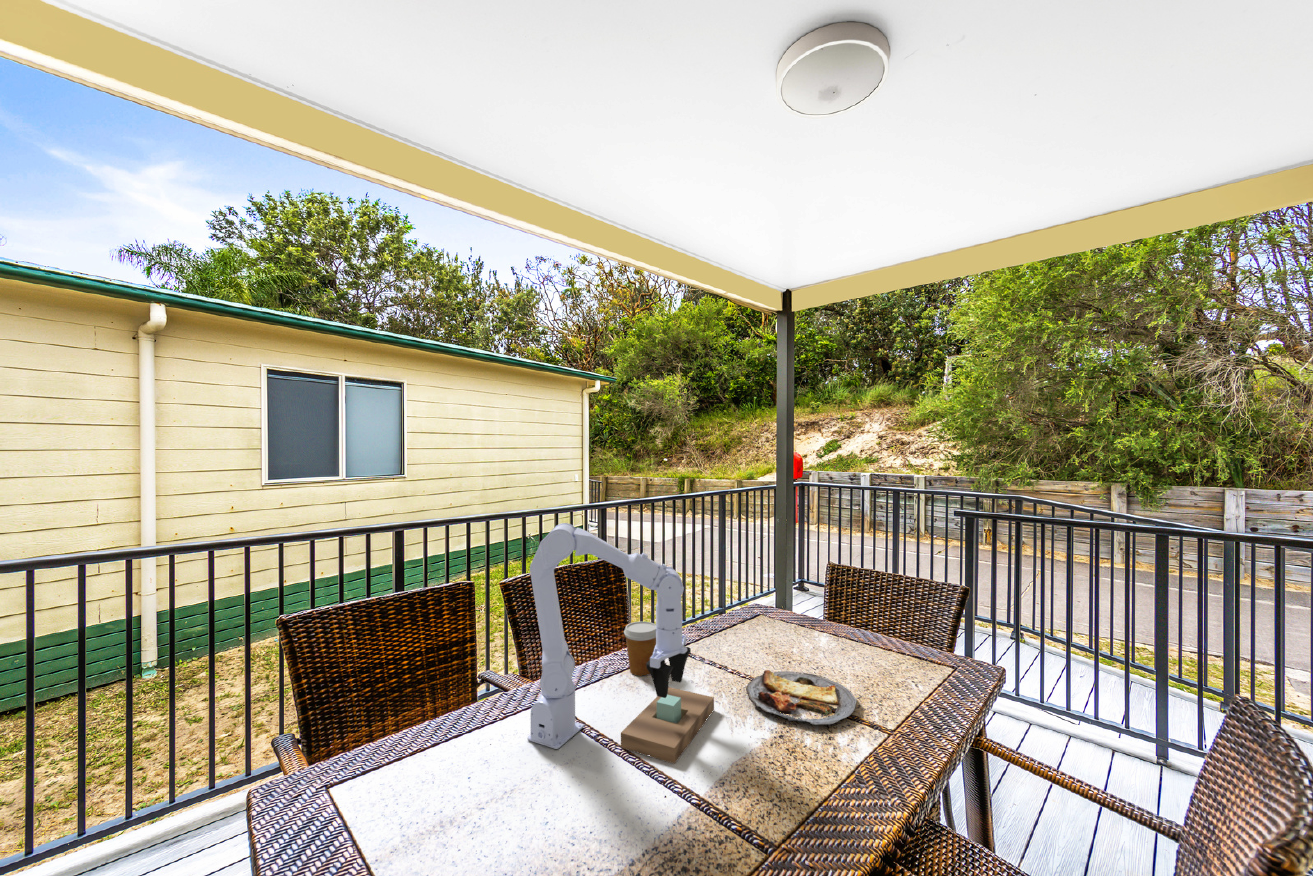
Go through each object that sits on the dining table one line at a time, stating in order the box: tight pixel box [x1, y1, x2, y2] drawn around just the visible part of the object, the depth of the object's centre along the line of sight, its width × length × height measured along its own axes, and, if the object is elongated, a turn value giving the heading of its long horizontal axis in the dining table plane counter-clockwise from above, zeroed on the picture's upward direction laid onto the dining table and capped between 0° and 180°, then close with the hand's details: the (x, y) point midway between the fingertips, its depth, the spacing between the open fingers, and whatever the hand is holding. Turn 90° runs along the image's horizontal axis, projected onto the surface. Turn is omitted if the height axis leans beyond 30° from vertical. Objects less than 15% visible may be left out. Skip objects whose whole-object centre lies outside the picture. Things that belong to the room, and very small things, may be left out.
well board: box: [620, 686, 715, 765], centre depth 109 cm, size 22×12×3 cm, turn 153°
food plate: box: [745, 669, 858, 726], centre depth 120 cm, size 25×23×4 cm
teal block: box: [657, 695, 681, 724], centre depth 109 cm, size 4×4×6 cm
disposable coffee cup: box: [623, 621, 656, 677], centre depth 137 cm, size 10×10×12 cm
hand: (669, 688), depth 109 cm, fingers open, 7 cm apart
